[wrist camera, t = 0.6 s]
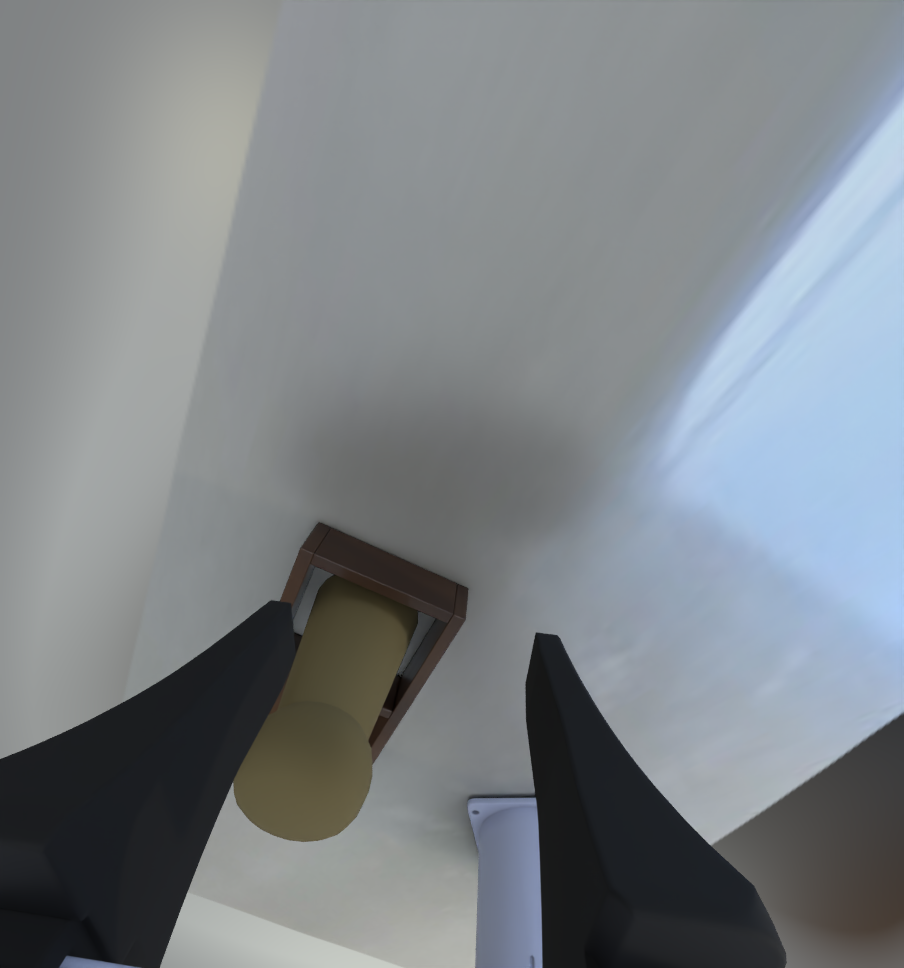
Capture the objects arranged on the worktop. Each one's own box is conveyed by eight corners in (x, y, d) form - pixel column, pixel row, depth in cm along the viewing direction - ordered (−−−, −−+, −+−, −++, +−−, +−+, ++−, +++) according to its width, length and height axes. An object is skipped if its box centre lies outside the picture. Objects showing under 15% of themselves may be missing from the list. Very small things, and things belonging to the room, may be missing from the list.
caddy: (362, 760, 32) (352, 797, 30) (242, 713, 31) (223, 748, 29) (468, 588, 25) (466, 619, 23) (318, 521, 24) (300, 547, 22)
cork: (425, 581, 25) (379, 785, 15) (410, 660, 28) (361, 880, 18) (317, 559, 25) (199, 748, 15) (312, 640, 28) (208, 848, 18)
